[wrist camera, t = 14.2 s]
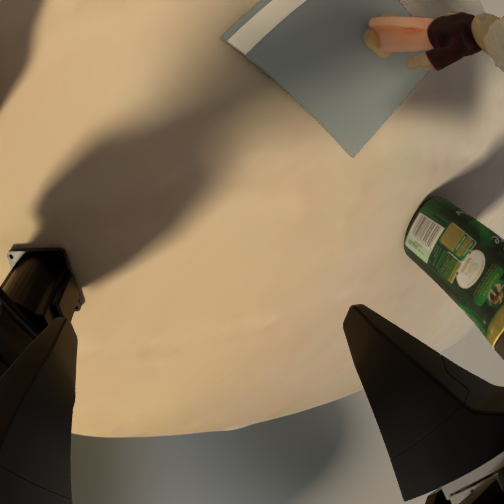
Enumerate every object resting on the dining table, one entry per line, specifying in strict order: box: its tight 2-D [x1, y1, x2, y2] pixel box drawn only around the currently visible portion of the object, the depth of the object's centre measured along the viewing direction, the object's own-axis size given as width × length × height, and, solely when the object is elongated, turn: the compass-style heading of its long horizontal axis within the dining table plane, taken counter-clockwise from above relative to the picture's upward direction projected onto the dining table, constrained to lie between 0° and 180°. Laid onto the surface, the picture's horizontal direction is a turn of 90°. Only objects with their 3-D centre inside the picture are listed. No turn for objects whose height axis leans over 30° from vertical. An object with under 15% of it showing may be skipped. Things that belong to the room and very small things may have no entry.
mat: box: [220, 0, 429, 158], centre depth 14 cm, size 13×14×1 cm
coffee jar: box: [404, 197, 504, 360], centre depth 19 cm, size 10×8×19 cm
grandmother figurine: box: [363, 12, 504, 72], centre depth 9 cm, size 8×4×13 cm, turn 150°
